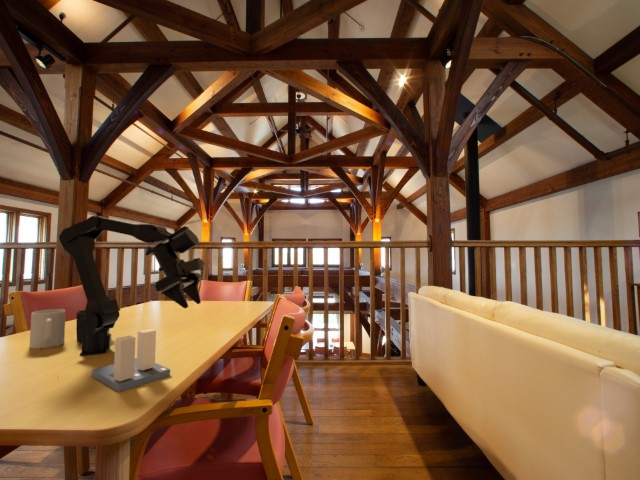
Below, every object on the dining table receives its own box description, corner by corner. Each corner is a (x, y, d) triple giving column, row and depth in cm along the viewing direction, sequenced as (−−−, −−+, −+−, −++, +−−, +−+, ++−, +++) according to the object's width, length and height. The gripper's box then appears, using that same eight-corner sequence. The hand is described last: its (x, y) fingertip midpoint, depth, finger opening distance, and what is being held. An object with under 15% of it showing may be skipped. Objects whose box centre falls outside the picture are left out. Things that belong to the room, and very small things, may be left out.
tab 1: (113, 378, 69) (115, 338, 70) (128, 374, 72) (129, 335, 72) (119, 381, 67) (121, 340, 68) (134, 377, 70) (135, 337, 70)
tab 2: (136, 367, 75) (137, 331, 76) (148, 364, 78) (150, 328, 78) (142, 370, 74) (143, 333, 74) (154, 366, 76) (156, 330, 77)
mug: (29, 344, 100) (31, 310, 100) (63, 339, 105) (65, 307, 106) (28, 353, 91) (30, 316, 91) (65, 347, 97) (67, 313, 97)
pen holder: (89, 335, 111) (91, 308, 111) (115, 336, 111) (116, 308, 111) (67, 343, 102) (69, 313, 102) (95, 343, 101) (96, 313, 102)
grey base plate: (91, 376, 75) (92, 369, 75) (140, 362, 84) (140, 356, 84) (118, 392, 66) (119, 384, 66) (169, 375, 76) (170, 368, 76)
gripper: (178, 246, 84) (204, 295, 83) (203, 249, 103) (226, 289, 102) (142, 266, 84) (169, 316, 83) (174, 266, 103) (196, 306, 101)
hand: (193, 305), depth 92 cm, fingers open, 9 cm apart
